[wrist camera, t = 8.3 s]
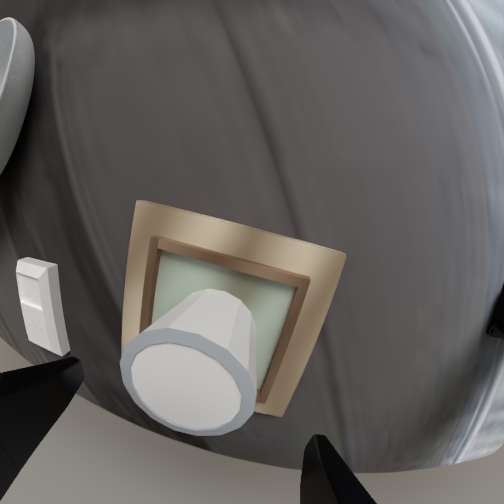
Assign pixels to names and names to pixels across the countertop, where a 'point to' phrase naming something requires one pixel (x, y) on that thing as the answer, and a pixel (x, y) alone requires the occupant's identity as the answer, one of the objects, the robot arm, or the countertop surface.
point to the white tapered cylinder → (196, 365)
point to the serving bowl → (14, 83)
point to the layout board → (233, 286)
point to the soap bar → (42, 304)
